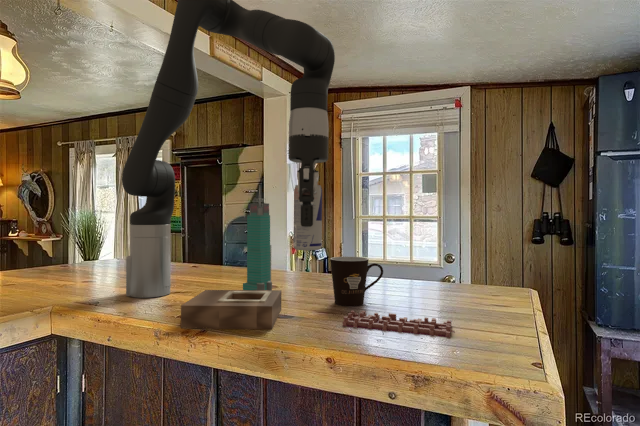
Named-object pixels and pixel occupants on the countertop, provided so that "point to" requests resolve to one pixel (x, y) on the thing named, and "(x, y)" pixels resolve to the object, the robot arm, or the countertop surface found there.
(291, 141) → the robot arm
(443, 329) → the chocolate bar
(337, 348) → the countertop surface
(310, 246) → the energy drink
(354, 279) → the coffee mug
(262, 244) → the building
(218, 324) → the holder board
